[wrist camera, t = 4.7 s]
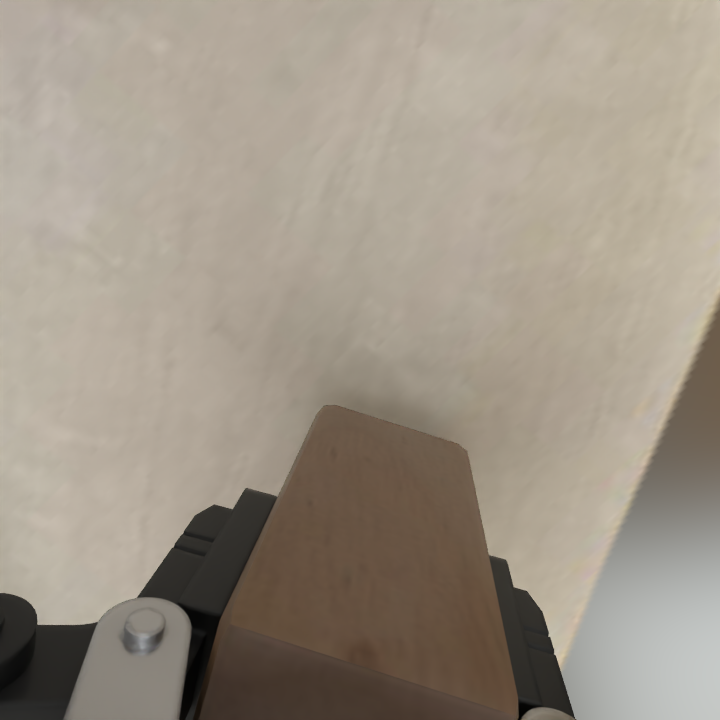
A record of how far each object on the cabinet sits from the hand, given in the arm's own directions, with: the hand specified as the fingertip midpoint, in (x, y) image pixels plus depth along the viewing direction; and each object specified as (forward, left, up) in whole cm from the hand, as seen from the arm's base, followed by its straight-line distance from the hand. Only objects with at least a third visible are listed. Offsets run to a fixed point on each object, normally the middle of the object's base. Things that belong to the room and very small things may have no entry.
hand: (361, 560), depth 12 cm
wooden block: (0, 0, -3) cm, 3 cm away
